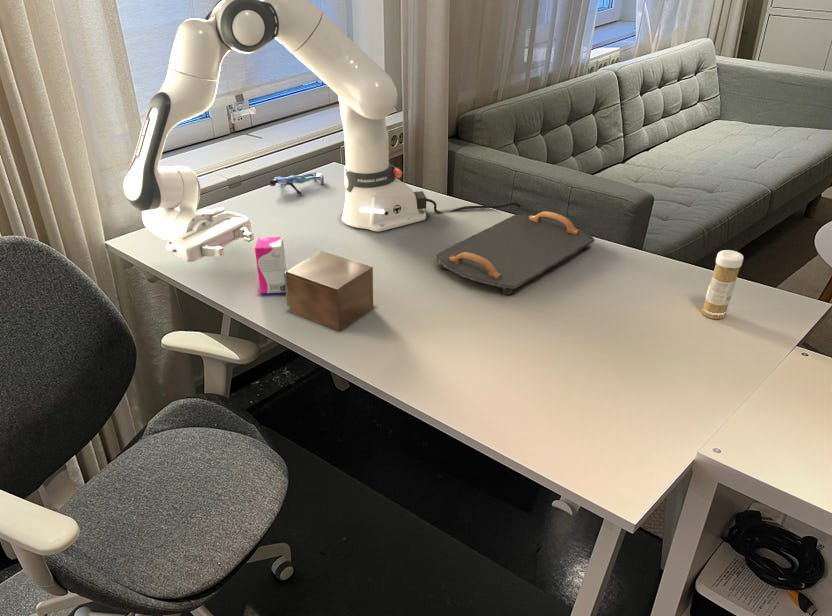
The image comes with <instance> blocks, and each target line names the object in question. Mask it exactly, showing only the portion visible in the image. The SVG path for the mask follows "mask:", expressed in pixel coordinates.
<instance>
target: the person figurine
mask: <svg viewBox="0 0 832 616" xmlns="http://www.w3.org/2000/svg"><path fill="white" fill-rule="evenodd" d="M311 181H314V182H317V181H319V182H320V184H321V185H322V186H323V185H324V183H325V179H324V175H322V173H320V172H319V173H317V172H313V173H304V174H301V175H297V174H296V175H293V174H291V175H289V176H287V177H283V176H282V177H281V176H276V177H274V179H269V180H268V185H269V187H275V186H276V184H279V185H280V186H281V187H287V186H290V187H291V188H293V189H294V190H295V191H296V194H297V195H298V196H299V197H301V196H302V192H301V191H300V190H299V189H297V187H296V185H295V184H304V183H308V182H311Z"/></svg>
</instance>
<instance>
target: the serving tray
mask: <svg viewBox="0 0 832 616" xmlns="http://www.w3.org/2000/svg"><path fill="white" fill-rule="evenodd" d="M595 241H596V240H595V238H594V237H593V235H591V234H589V233H587V232H585V231H584V230H582V229H580V228H578V227H575V225H574V224H573V222H572V221H571V220H570V219H569V218H567V217H566V216H564V215H563V214H559V213H557V212H552V211H544V210H543V211H540V212H538V213H537V214H535V215H533V214H530V215H528V214H514V215H512V216H510V217H508V218H505V219H504V220H502V221H499V222H497V223H496V224H494V225H491V226H490V227H487V228H485V229H483V230H482V231H479V232H477V233H475V234H472V235H471V236H470V237H468V238H466V239H463V240H461V241H460V242H457V243H455V244H453V245H452V246H450V247H447V248H445V249H444V250H442V251H439V252H438V253H436V255H434V259H435V261H437V263H438V267H439V268H440V270H448V271H450V272H453V274H454V273H455V274H456V275H458V276H460V277H462V278H465V279H467V280H470V281H473V282H477V283H481V284H484V285H487V286H492V287H494V286H495V287H496V288H502V293H503V295H504V296H510V295H511V294H512V293H513V289H517V288H519V287H521V286H522V285H524V284H526V283H528V282H530V281H531V280H533V279H534V278H536V277H538V276H540V275H542V274H544V272H546V271H547V270H549V269H550V268H552V267H555V266H557V265H559V264H560V263H562V262H563V261H565V260H566V259H568V258H570V257H572V256H575V255H576V253H578V252H579V251H581V250H587V249H588V248H589V246H590V245H591V244H593V243H594V242H595Z"/></svg>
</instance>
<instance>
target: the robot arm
mask: <svg viewBox="0 0 832 616" xmlns="http://www.w3.org/2000/svg"><path fill="white" fill-rule="evenodd" d="M274 39H275V40H276V41H277V42H279V43H280V44H282V45H283V46H284V47H285V48H286V49H287V50H288V51H289V52H290V53H291V54H292V55H294V57H296V58H297V59H298V60H299V61H300V62H301V63H302V64H304V65H305V67H307V68H308V69H309V70H310V71H311V72H312V73H313V74H314V75H316V77H318V78H319V79H320V80H321V81H322V82H323V83H324V84H325V85H326V86H328V88H330V89H331V90H332V91H333V92H334V93H335V94H336V95H337V96H338V102H339V110H340V117H341V122H342V129H343V135H344V136H343V137H344V154H345V155H344V156H345V166H344V172H343V177H344V178H343V180H344V181H343V182H344V183H343V185H344V188H345V199H344V205H343V206H344V207H343V212H342V216H341V221H342V222H343V223H344V224H345V225H347V226H349V227H352V228H357V229H362V230H363V229H365V230H369V231H373V232H383V231H387V230H391V229H395V228H398V227H402V226H406V225H407V226H408V225H410V224H415V223H418V222H423V221H425V220H426V219H427V211H426V209H427V202H428V203H431V204H432V205H433V212H434V213H436V214H443V213H445V211H439V210H437V206H438V205H437V202H436V201H434V200H433V199H431V198H427V196H426V194H425V193H424V191H423V190H420V191H414V190H413V189H412V188H411V187H410V186H409V185H407V184H406V183H404V182H403V181H401V180H400V178H401V177H402V176H403V171H402V170H401V169H400V168H399V167H396V166H395V165H394V164H391V163H390V147H389V146H390V143H389V142H390V138H389V137H390V135H389V131H388V128H387V124H386V118H387V117H388V116H389V115H391V114H392V113H393V111H394V110H395V108H396V106H397V104H398V99H399V98H398V97H399V96H398V95H399V94H398V90H397V87H396V85H395V83H394V81H393V79H392V77H391V76H390V75H389V74H388V73H387V71H385V70H384V68H382V67H381V66H380V65H378V63H377V62H375V61H374V60H373V58H371V57H370V56H369V55H368V54H367V53H366V52H365V51H363V49H361V47H360V46H358V44H356V43H355V42H354V41H353V40H352V39H351V38H350V37H349V36H347V35H346V34H345V33H344V32H343V30H342V29H340V28H339V27H338V26H337V25H336V24H335V23H334V22H333V21H332V19H330V18H329V17H328V16H327V15H326V14H325V13H324V12H323V11H322V10H321V9H320V8H319V7H318V6H317V5H316V4H314V3H313V2H312V1H311V0H219V1H217V3H216V4H215V5H213V8H211V10H210V11H209V13H208V14H206V16H205V18H204V19H201V18H189V19H186V20H184V21H182V22H181V23H180V24H179V26H178V28H177V31H176V34H175V37H174V40H173V43H172V47H171V51H170V56H169V62H168V67H167V72H166V76H165V79H164V81H163V83H162V85H161V87H160V89H159V91H158V92H157V93H156V94H154V96H153V97H152V98H151V99H150V101H149V103H148V106H147V108H146V112H145V114H144V117H143V121H142V124H141V129H140V132H139V135H138V139H137V142H136V146H135V150H134V153H133V157H132V159H131V162H130V164H129V167H128V169H127V171H126V173H125V174H124V178H123V181H122V190H123V194H124V196H125V198H126V199H127V201H128V202H129V203H130V205H132V207H134V209H137V211H139V212H140V211H141V220H142V222H143V225H144V227H145V228H146V229H147V230H148V231H149V232H150V233H151V234H153V235H154V236H156V237H158V238H160V239H162V240H164V241H167V243H166V245H165V249H166V251H168V252H171V253H173V254H174V256H176V257H177V258H179V259H181V260H182V261H185V262H188V263H192V262H196V261H198V260H200V259H202V258H204V257H217V258H221V257H223V256H224V255H225V249H224V247H226V246H228V245H230V244H231V243H232V244H233V243H234V242H237V241H238V240H240V239H242V238H243V240H244V242H247V243H250V242H253V241H254V240H255V236H254V233H253V227H252V221H251V219H250V218H249V217H248V216H246V215H243V214H240V213H237V212H233V211H225V208H224V207H215V208H210V209H203V210H202V209H201V210H198V207H199V202H200V198H201V183H200V179H199V178H198V176H197V174H196V173H195V171H194V170H192V168H191V167H189V166H186V165H160V162H161V159H162V156H163V152H164V148H165V145H166V142H167V138H168V136H169V134H170V133H171V131H172V130H173V129H174V128H175V127H176V126H178V125H179V124H181V123H183V122H185V121H187V120H190V119H192V118H195V117H198V116H200V115H202V114H203V113H205V112H206V111H208V110H209V109H210V108H211V106H212V105H213V103H214V101H215V98H216V95H217V92H218V91H217V90H218V84H219V79H220V72H221V65H222V63H223V60H224V59H225V56H226V55H227V54H228V53H229V52H231V50H232V51H235V52H238V53H241V54H252V53H256V52H257V51H260V50H261V49H262V48H264V47H265V46H266V45H268V44H269V43H270V42H272V41H273V40H274ZM508 206H516V207H518V208H522V205H521V204H520V203H518V202H516V201H511V202H510V201H509V202H507V203H504V204H492V205H465V206H460V207H457V208H453V209H451V210H448V211H447V213H452V212H458V211H462V210H469V209H470V210H471V209H500V208H505V207H508Z"/></svg>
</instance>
